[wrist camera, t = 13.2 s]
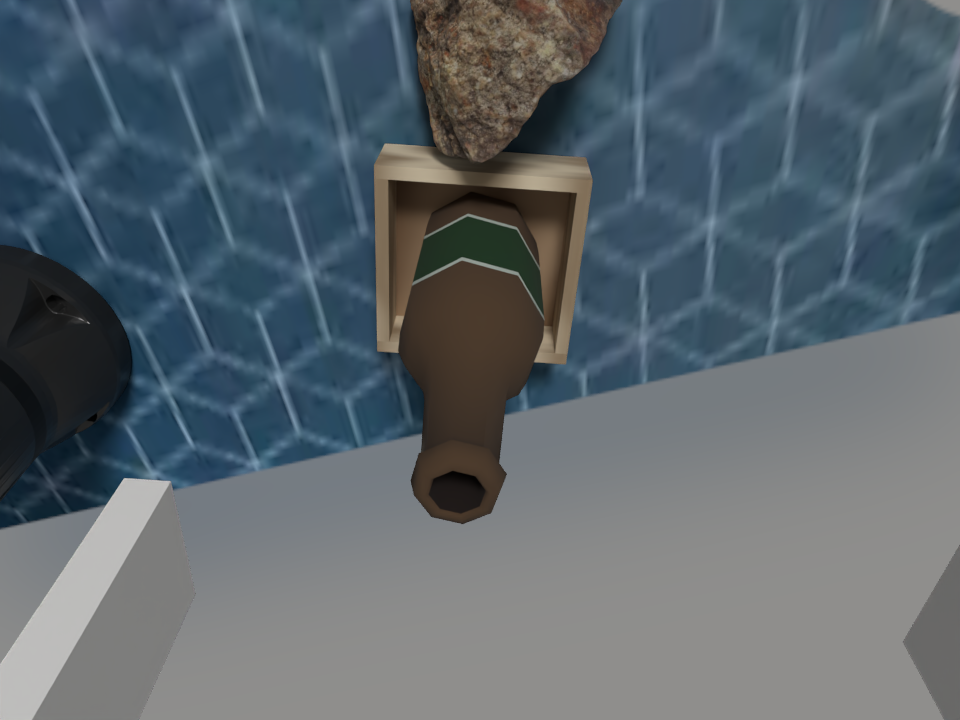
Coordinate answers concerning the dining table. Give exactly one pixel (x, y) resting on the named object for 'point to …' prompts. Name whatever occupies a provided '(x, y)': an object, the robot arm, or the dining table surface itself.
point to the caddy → (508, 176)
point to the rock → (499, 63)
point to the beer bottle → (470, 347)
